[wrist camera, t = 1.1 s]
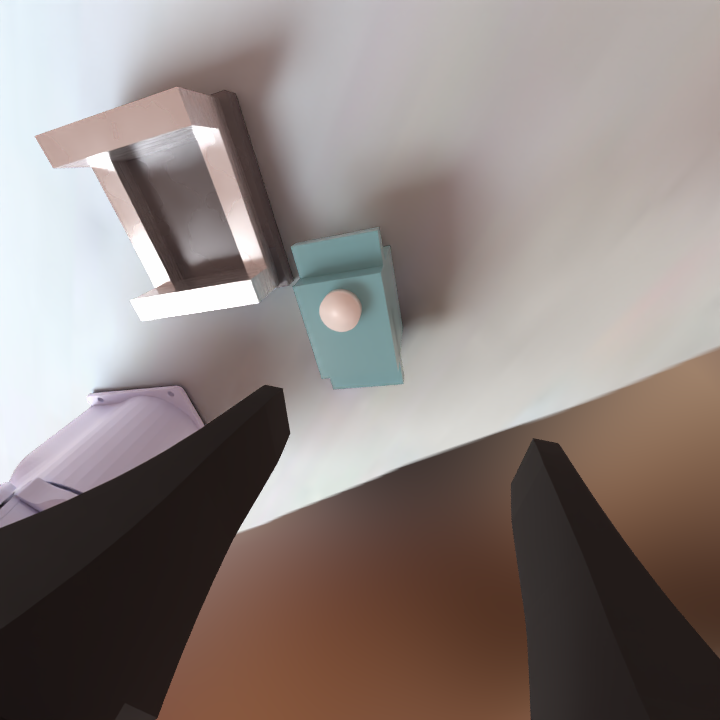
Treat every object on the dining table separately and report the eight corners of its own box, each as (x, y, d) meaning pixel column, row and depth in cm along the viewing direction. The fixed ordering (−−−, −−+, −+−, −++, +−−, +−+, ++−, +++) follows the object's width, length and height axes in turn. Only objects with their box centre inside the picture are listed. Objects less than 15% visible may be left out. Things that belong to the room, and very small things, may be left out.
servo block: (346, 354, 22) (326, 408, 17) (314, 230, 18) (276, 256, 13) (406, 348, 21) (401, 403, 16) (385, 216, 17) (372, 238, 12)
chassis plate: (181, 298, 22) (138, 324, 18) (101, 137, 17) (24, 133, 14) (293, 280, 20) (267, 305, 16) (235, 93, 15) (183, 76, 12)
